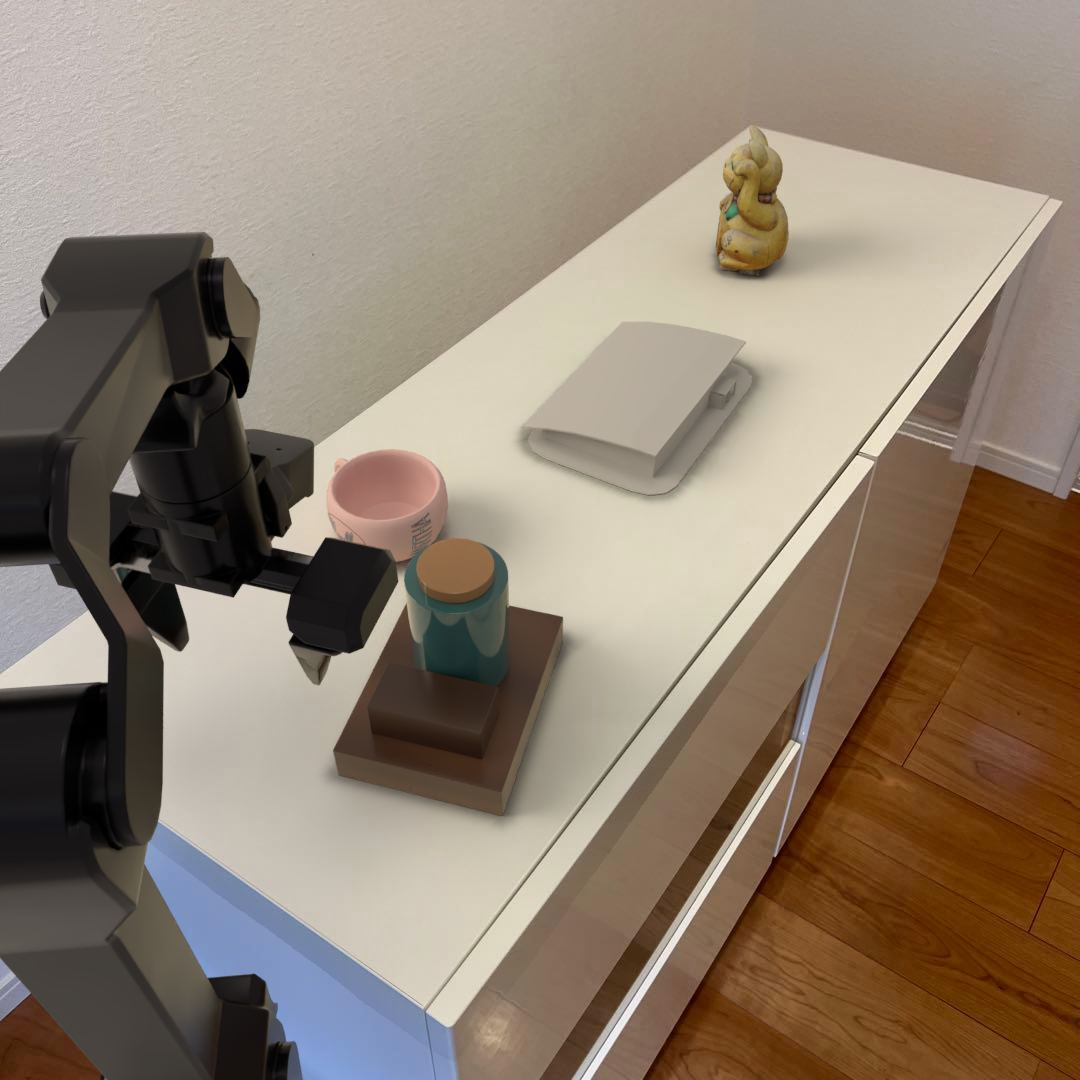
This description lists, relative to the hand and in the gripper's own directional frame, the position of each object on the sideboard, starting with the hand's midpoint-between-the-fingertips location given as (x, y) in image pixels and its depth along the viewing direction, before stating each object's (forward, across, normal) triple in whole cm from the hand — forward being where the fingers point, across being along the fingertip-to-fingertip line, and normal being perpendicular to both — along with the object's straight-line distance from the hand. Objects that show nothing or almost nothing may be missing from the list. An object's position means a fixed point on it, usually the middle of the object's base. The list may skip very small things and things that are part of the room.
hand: (250, 662), depth 66 cm
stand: (+13, -9, -10) cm, 19 cm away
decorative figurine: (+13, -20, -80) cm, 83 cm away
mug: (+13, +3, -25) cm, 29 cm away
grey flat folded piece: (+13, -15, -49) cm, 53 cm away
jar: (+5, -9, -11) cm, 16 cm away
